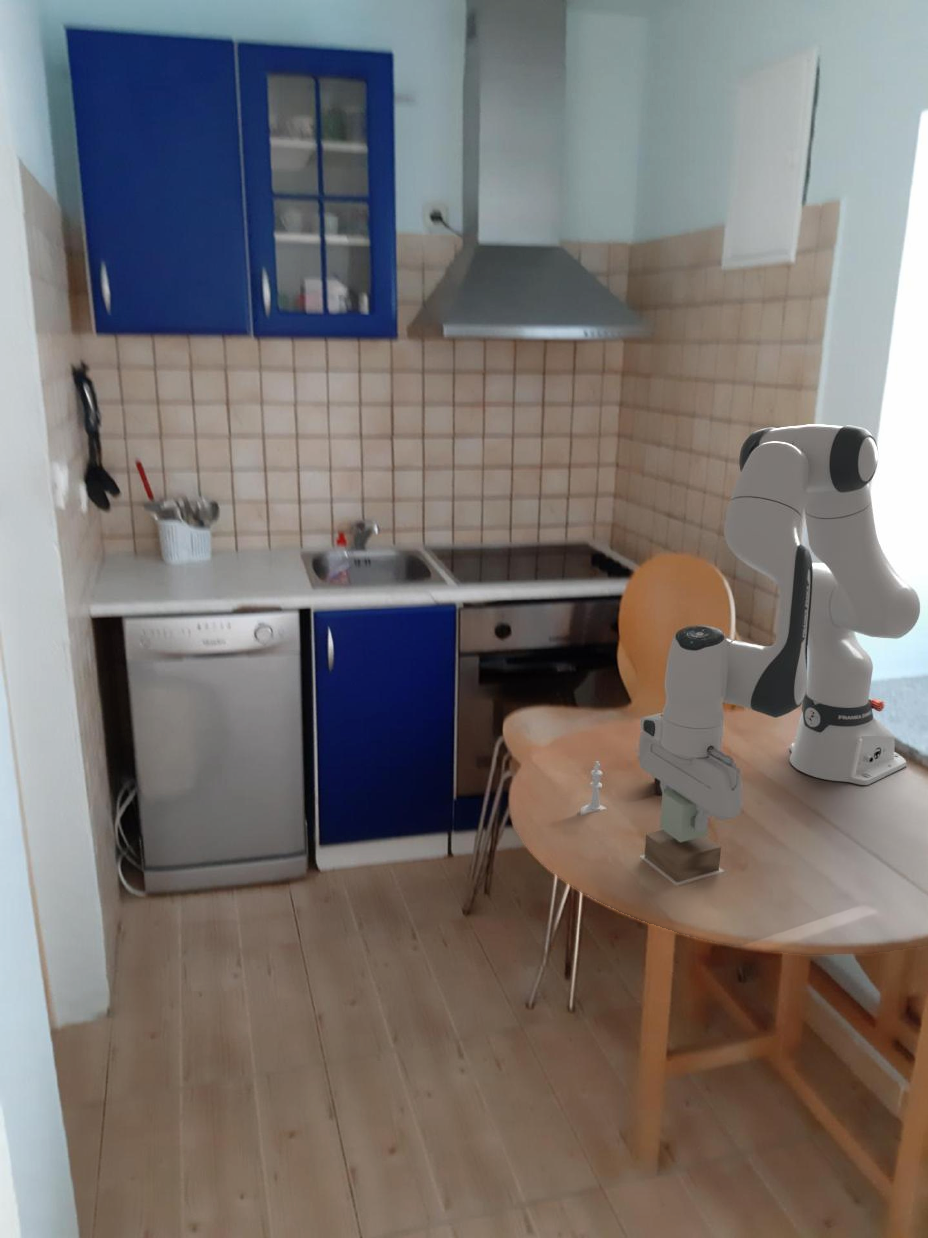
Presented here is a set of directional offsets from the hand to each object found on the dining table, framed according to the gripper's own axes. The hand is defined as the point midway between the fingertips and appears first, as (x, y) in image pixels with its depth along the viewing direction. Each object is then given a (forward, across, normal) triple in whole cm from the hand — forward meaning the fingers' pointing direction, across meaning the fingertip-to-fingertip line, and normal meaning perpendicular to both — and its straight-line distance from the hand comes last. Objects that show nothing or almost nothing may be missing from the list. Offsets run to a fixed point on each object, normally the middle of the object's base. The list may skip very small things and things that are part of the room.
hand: (684, 819), depth 145 cm
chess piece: (+9, +21, +2) cm, 23 cm away
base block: (+8, 0, 0) cm, 8 cm away
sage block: (+2, 0, 0) cm, 2 cm away
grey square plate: (+9, 0, -2) cm, 9 cm away
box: (+9, +23, -16) cm, 29 cm away
